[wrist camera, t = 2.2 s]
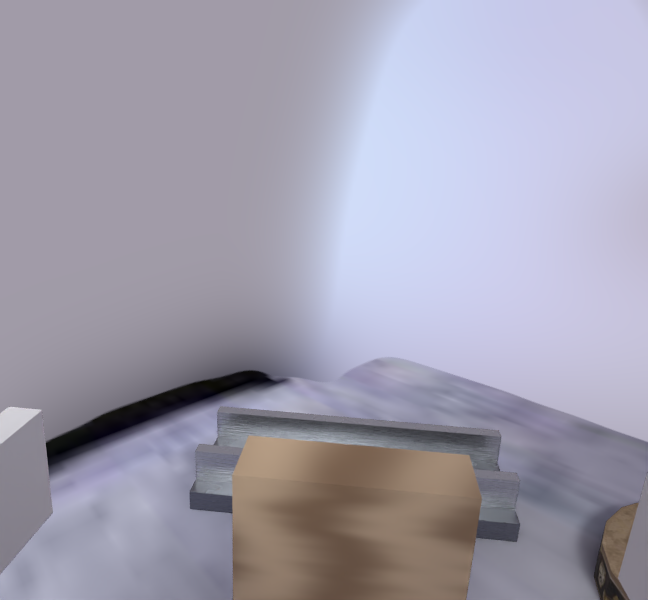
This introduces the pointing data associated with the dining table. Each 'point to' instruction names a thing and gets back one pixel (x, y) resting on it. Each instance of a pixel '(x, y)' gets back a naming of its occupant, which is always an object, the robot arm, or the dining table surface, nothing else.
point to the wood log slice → (614, 553)
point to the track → (477, 443)
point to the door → (351, 522)
